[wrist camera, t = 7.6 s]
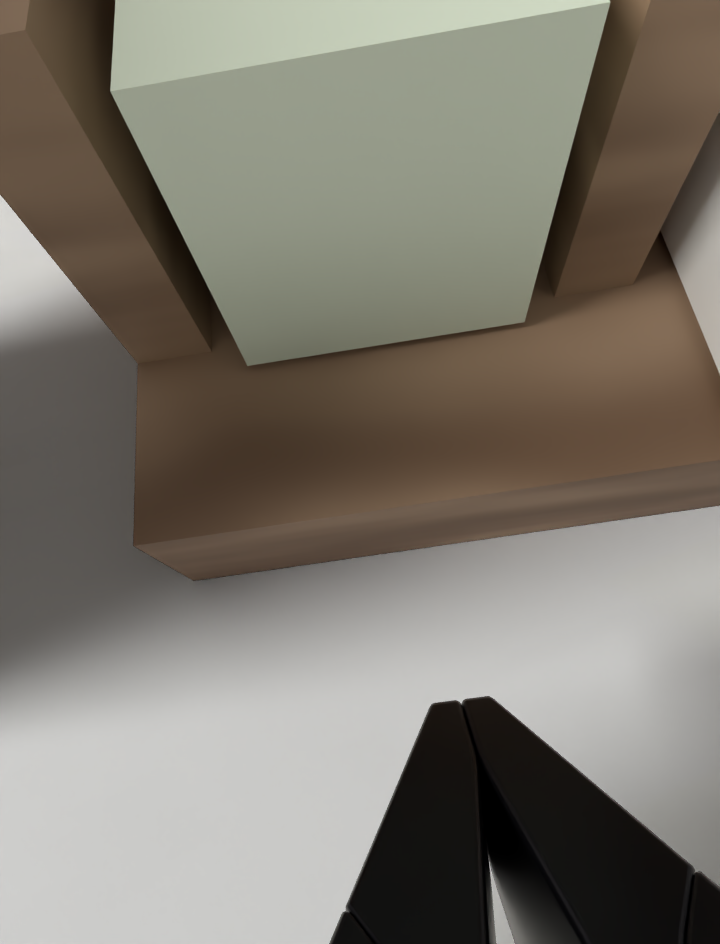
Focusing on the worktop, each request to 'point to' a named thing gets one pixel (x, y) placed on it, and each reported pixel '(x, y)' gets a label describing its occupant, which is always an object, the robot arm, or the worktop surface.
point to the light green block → (357, 156)
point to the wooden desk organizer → (396, 364)
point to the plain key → (700, 238)
